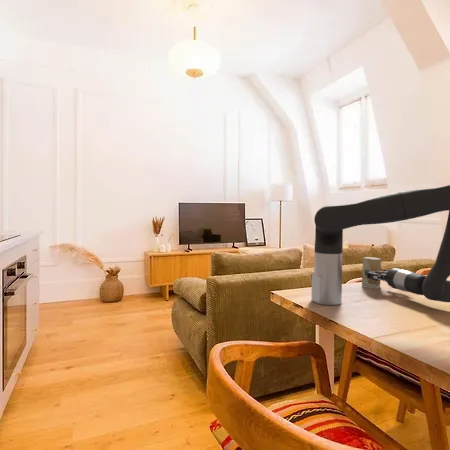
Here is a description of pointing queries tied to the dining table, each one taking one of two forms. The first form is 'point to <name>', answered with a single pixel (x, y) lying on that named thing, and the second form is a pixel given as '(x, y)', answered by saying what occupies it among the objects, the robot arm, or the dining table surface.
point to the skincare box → (371, 265)
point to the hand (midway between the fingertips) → (374, 272)
